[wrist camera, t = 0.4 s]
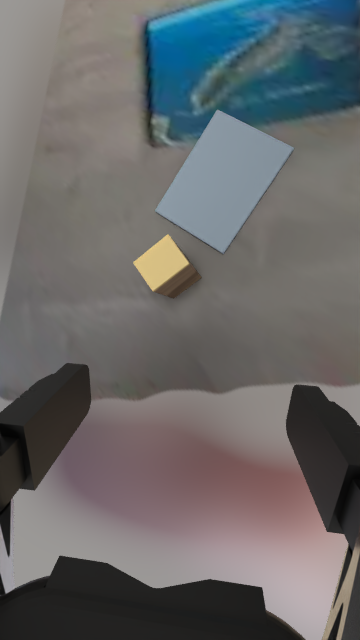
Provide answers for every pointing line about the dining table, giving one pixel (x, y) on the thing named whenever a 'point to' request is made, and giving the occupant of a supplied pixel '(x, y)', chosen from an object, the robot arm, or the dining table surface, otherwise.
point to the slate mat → (223, 180)
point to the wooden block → (167, 268)
